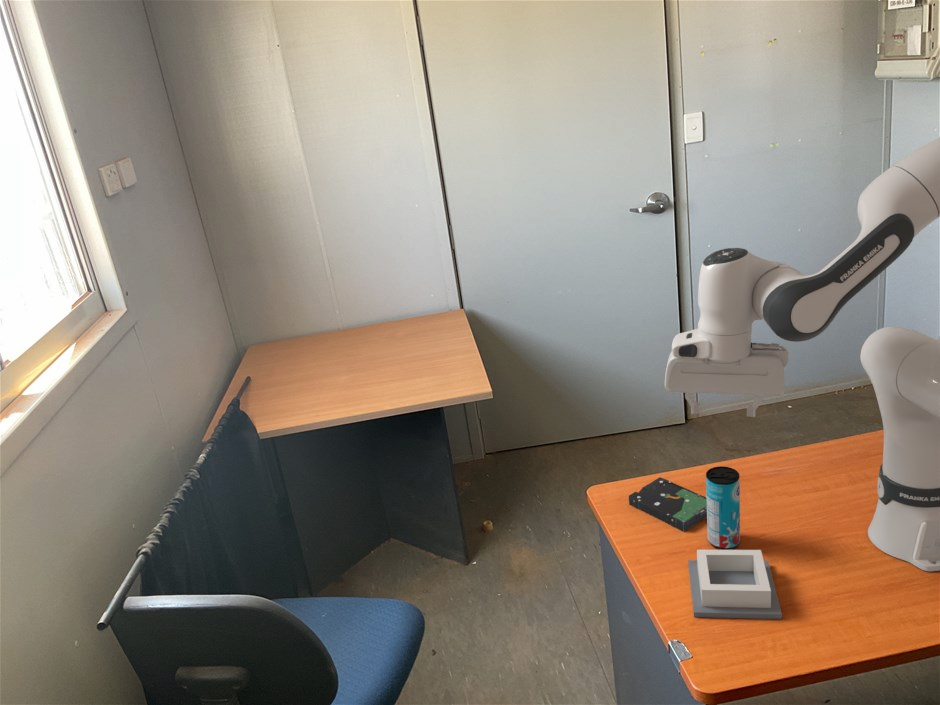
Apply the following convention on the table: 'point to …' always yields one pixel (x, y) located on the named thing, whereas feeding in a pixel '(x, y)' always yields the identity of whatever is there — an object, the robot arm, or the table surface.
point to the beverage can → (723, 507)
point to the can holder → (733, 585)
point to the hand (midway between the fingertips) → (723, 414)
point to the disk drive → (670, 504)
